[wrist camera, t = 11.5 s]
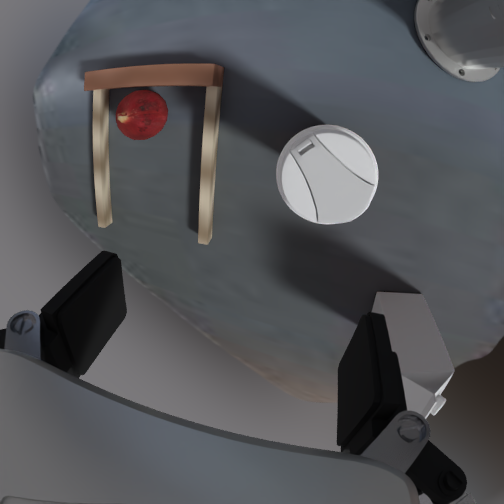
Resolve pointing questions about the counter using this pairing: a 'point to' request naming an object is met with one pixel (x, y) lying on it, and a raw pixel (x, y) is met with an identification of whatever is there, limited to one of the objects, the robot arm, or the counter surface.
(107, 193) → the wooden u-shaped frame
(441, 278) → the counter surface
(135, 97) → the red apple
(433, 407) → the milk carton
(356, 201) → the paper cup
